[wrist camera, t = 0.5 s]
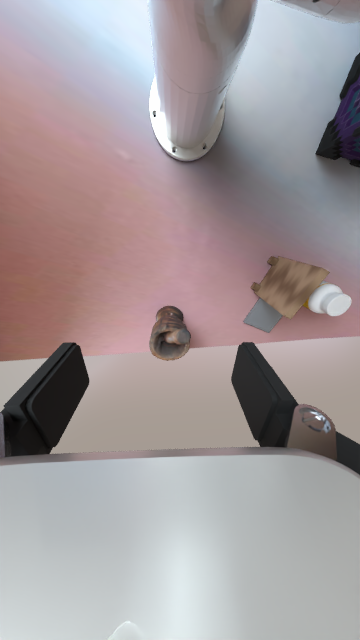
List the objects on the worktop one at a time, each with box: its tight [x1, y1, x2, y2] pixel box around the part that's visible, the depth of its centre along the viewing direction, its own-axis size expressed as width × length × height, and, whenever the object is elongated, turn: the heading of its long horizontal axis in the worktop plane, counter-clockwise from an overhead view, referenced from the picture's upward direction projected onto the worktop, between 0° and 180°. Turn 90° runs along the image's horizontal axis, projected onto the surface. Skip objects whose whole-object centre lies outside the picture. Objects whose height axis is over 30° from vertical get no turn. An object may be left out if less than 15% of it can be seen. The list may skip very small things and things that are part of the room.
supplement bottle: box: [302, 281, 351, 316], centre depth 40 cm, size 7×7×13 cm
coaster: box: [243, 298, 283, 333], centre depth 49 cm, size 9×9×1 cm
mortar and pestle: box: [149, 306, 191, 361], centre depth 39 cm, size 12×9×20 cm
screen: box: [251, 256, 330, 319], centre depth 38 cm, size 10×5×14 cm, turn 156°
